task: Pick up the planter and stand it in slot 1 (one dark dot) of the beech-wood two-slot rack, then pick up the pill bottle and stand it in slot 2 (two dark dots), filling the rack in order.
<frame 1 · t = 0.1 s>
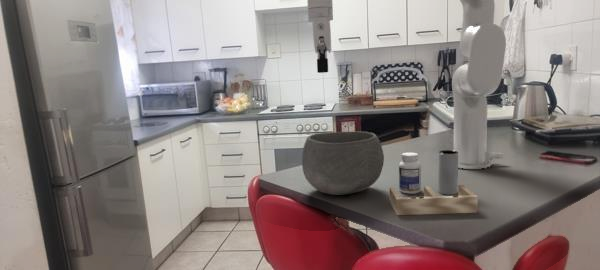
hand: (322, 72, 124), 31 cm above the counter, fingers open, 9 cm apart
slot rack: (431, 206, 90), on the counter
bowl: (343, 192, 105), on the counter
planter: (448, 192, 100), on the counter
pill bottle: (410, 191, 103), on the counter
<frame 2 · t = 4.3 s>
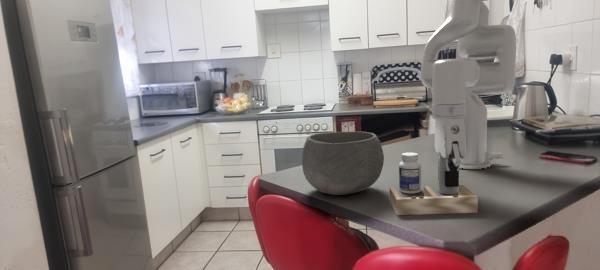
hand: (448, 182, 100), 2 cm above the counter, fingers closed on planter, 4 cm apart
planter: (448, 192, 100), on the counter, touching gripper
everything else where it was.
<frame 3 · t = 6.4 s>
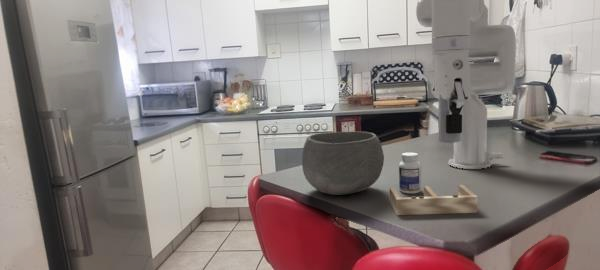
hand: (449, 130, 87), 17 cm above the counter, fingers closed on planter, 4 cm apart
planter: (449, 142, 88), point 15 cm above the counter, touching gripper
everything else where it was.
when the fingers open (5 cm above the counter, at t = 8.6 s): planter drops 2 cm, on the counter.
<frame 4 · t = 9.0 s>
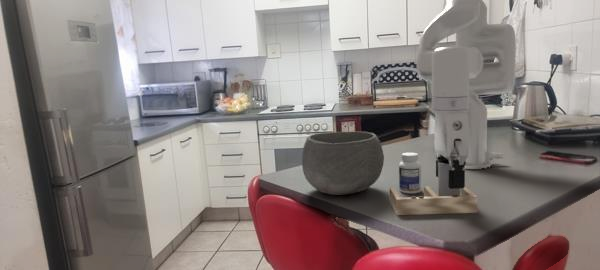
hand: (449, 182, 89), 6 cm above the counter, fingers open, 8 cm apart
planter: (449, 206, 90), on the counter
everything else where it was.
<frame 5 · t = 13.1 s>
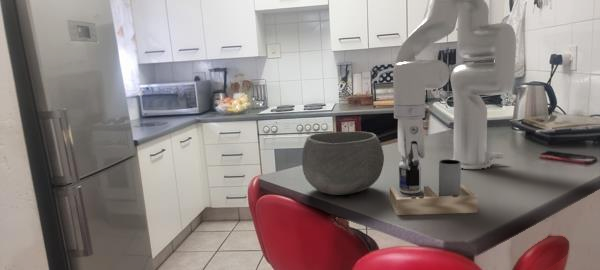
hand: (409, 181, 102), 3 cm above the counter, fingers closed on pill bottle, 5 cm apart
pill bottle: (410, 191, 103), on the counter, touching gripper
everything else where it was.
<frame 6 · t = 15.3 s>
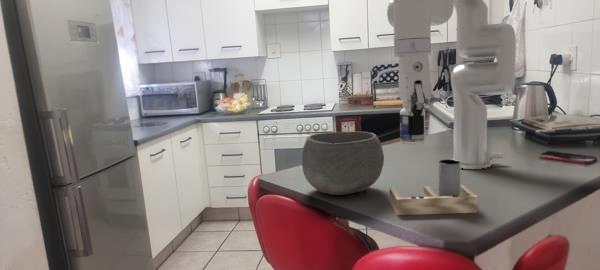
hand: (412, 131, 88), 17 cm above the counter, fingers closed on pill bottle, 5 cm apart
pill bottle: (412, 143, 88), point 15 cm above the counter, touching gripper
everything else where it was.
when the fingers open (5 cm above the counter, at t = 17.6 s): pill bottle drops 2 cm, on the counter.
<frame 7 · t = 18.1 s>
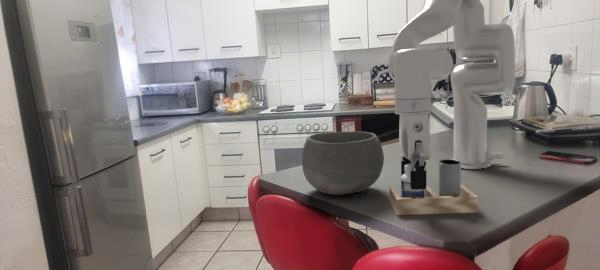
hand: (413, 182, 89), 6 cm above the counter, fingers open, 9 cm apart
pill bottle: (413, 208, 91), on the counter
everything else where it was.
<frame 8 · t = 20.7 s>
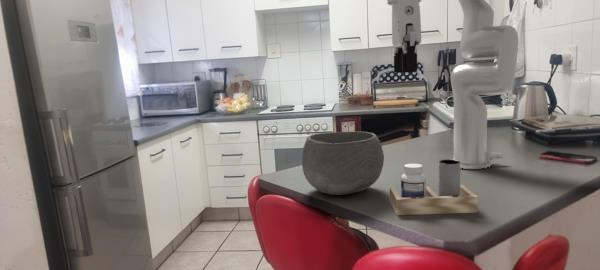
hand: (405, 72, 93), 30 cm above the counter, fingers open, 9 cm apart
nothing on the counter moved.
at the end: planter inside the target area (0.2 cm from its centre), on the counter; pill bottle inside the target area (0.2 cm from its centre), on the counter; pill bottle tilted 0° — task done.
